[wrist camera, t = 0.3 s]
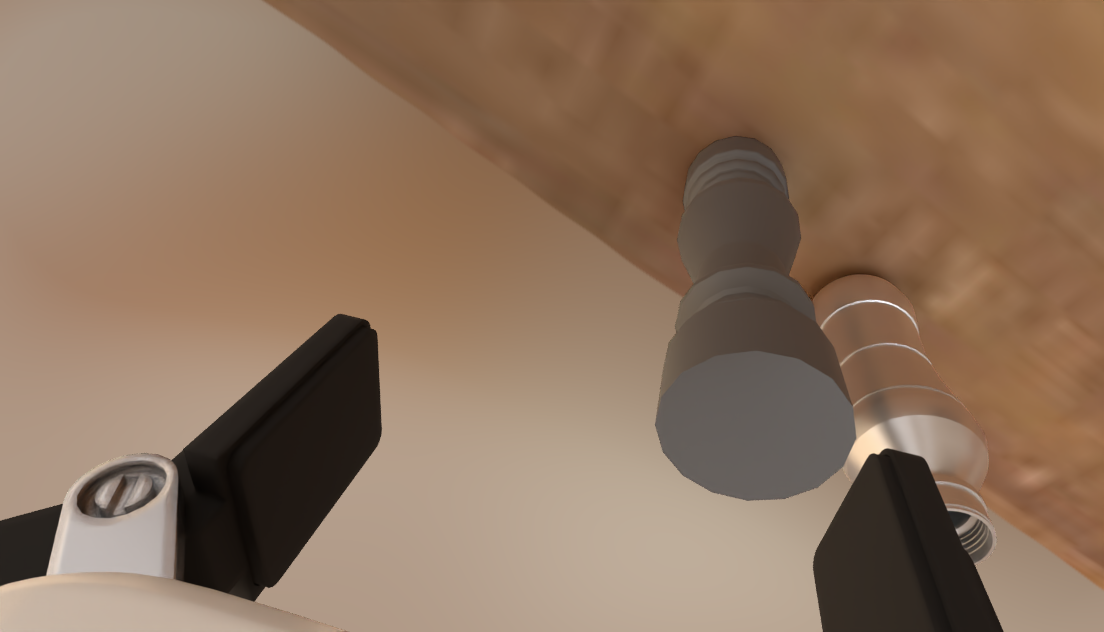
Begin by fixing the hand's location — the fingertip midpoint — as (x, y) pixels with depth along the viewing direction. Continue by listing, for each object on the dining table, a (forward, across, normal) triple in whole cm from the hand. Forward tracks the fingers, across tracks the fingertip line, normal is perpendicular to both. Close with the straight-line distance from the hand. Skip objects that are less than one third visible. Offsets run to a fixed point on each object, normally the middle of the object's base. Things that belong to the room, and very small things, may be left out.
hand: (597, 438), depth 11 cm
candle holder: (+31, -4, +4) cm, 32 cm away
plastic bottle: (+31, -14, +11) cm, 36 cm away
